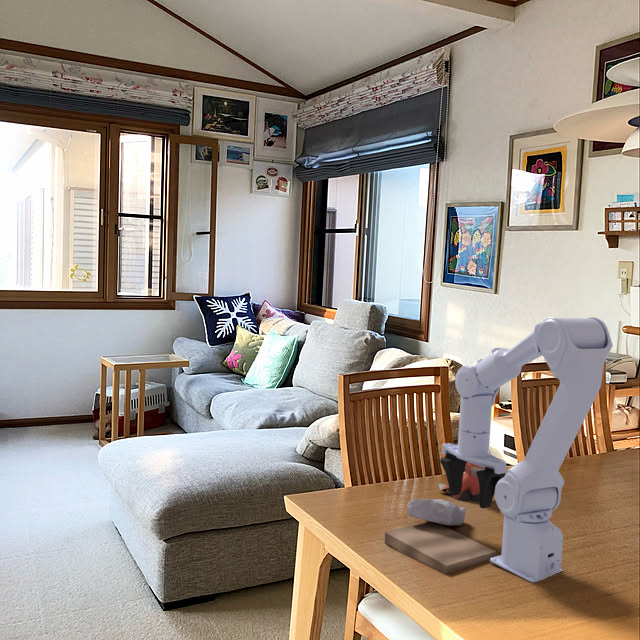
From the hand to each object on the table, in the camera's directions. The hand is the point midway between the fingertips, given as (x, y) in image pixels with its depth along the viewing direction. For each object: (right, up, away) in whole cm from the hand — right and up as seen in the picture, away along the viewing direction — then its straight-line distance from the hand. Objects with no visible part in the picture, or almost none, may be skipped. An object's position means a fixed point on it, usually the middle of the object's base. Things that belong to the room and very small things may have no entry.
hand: (469, 500), depth 134 cm
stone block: (-11, -4, +6) cm, 13 cm away
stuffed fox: (+3, -6, +25) cm, 26 cm away
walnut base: (-7, -8, -6) cm, 12 cm away
